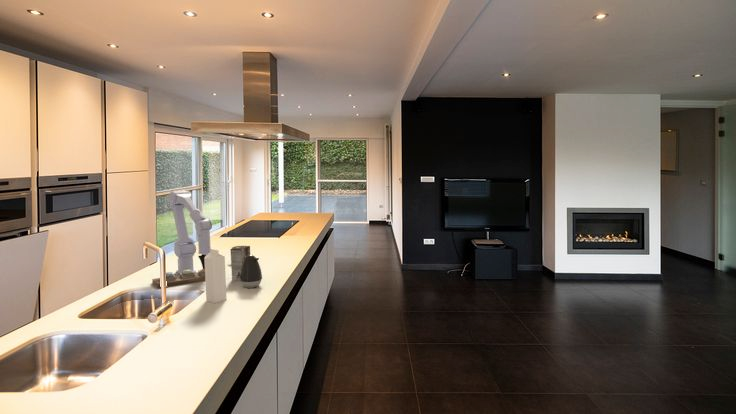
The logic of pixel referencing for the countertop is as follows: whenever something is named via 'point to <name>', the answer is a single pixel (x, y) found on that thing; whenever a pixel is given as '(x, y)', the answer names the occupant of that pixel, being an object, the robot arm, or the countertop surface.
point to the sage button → (187, 272)
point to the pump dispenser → (250, 272)
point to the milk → (215, 277)
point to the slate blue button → (169, 274)
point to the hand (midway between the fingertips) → (205, 269)
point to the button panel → (181, 279)
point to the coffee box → (238, 260)
